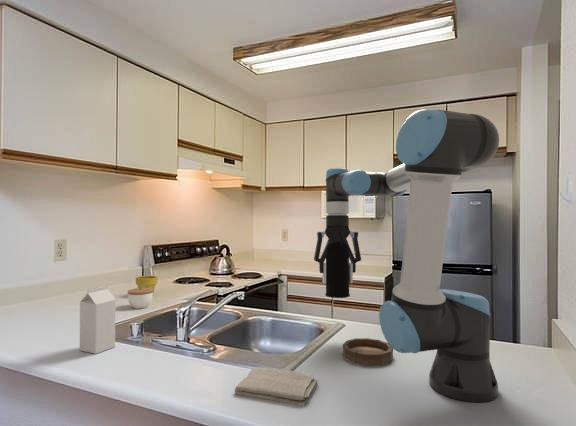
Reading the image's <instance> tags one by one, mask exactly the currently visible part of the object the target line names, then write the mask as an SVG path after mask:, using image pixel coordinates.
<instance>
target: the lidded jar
mask: <svg viewBox="0 0 576 426" xmlns="http://www.w3.org/2000/svg"><path fill="white" fill-rule="evenodd" d="M153 296H154V294H153V289H151V288H142V286H139V288H138V287H137V288H132V289H128V290H127V298H128V303H129V305H130V306H131V307H132V308H133V309H136V310H141V309H146V308H148V307H149V306H150V305H151V303H152V301H153V298H154V297H153Z"/></svg>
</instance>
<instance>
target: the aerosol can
mask: <svg viewBox="0 0 576 426" xmlns="http://www.w3.org/2000/svg"><path fill="white" fill-rule="evenodd" d="M350 249H351V247H350V248H348V246H347V245H345V244H344V243H340V242H336V243H333V244H332V245H330V246H329V247H328V248H327V256H326V259H325V263H326V284H325V297H327V298H334V299H344V298H349V297H350V296H351V294H350V282H349V263H350V259H349V250H350Z"/></svg>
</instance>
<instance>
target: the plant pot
mask: <svg viewBox="0 0 576 426" xmlns="http://www.w3.org/2000/svg"><path fill="white" fill-rule="evenodd" d="M157 284H158V276H157V275H140V276H137V277H135V285H136V286H137V288H139V286H142V288H151V289H153V295H154V294H155V289H156V285H157Z"/></svg>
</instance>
